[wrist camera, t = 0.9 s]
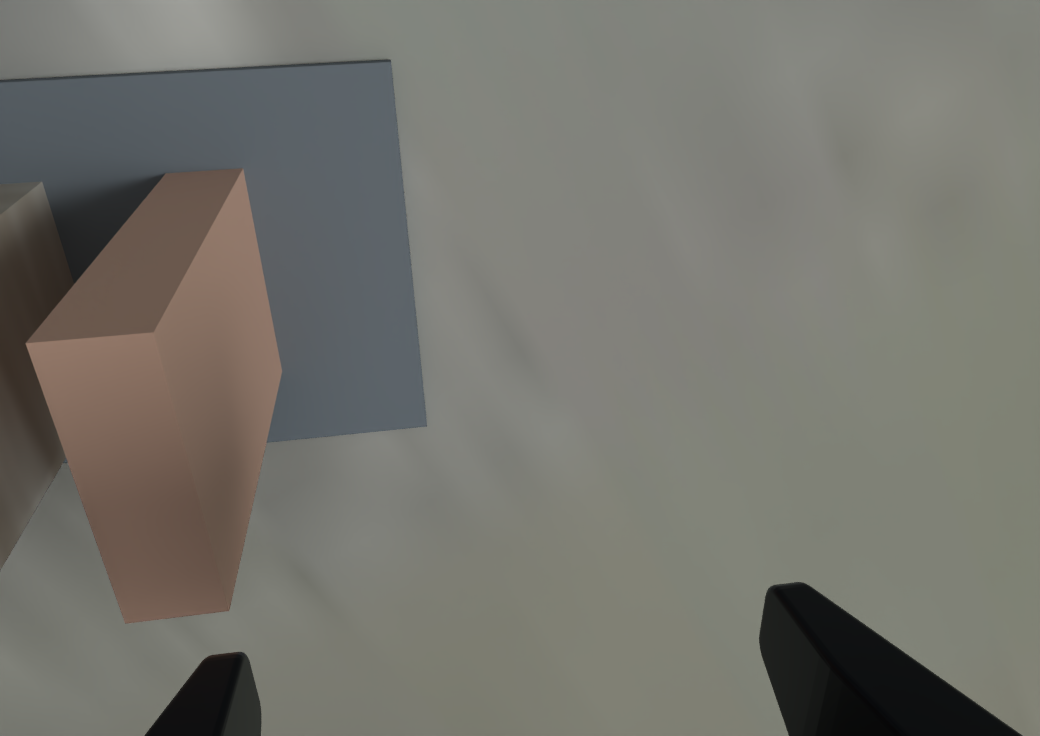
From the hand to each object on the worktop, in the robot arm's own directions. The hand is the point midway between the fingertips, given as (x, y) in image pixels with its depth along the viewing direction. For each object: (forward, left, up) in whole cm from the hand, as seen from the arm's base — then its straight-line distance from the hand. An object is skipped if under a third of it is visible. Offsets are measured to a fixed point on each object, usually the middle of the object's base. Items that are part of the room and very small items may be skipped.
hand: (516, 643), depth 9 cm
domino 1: (-3, +4, -12) cm, 13 cm away
